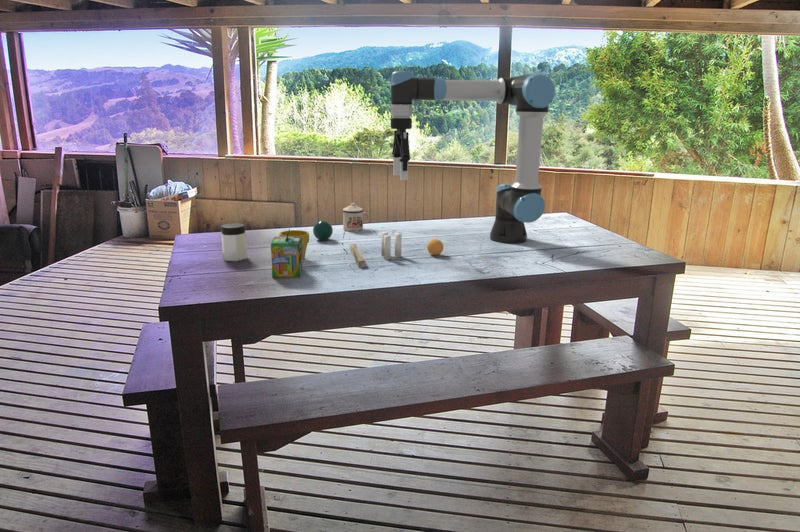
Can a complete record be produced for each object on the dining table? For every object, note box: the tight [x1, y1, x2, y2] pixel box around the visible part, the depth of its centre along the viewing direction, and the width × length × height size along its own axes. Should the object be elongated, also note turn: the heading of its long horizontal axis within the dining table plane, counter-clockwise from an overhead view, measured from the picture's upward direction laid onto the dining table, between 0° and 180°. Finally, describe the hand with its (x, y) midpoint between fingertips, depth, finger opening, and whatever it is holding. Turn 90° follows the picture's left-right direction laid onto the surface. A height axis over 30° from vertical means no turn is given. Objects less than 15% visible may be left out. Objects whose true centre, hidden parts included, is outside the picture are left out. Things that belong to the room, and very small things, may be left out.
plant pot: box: [278, 229, 310, 261], centre depth 201 cm, size 10×10×10 cm
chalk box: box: [270, 228, 303, 279], centre depth 184 cm, size 9×9×15 cm
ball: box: [426, 238, 444, 256], centre depth 210 cm, size 6×6×6 cm
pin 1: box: [381, 231, 389, 257], centre depth 208 cm, size 2×2×8 cm
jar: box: [220, 222, 248, 262], centre depth 201 cm, size 9×8×12 cm
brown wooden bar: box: [349, 243, 366, 269], centre depth 205 cm, size 2×24×2 cm, turn 12°
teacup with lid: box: [342, 202, 370, 232], centre depth 250 cm, size 12×9×12 cm
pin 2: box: [383, 234, 392, 261], centre depth 204 cm, size 2×2×8 cm
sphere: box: [312, 220, 333, 241], centre depth 230 cm, size 8×8×8 cm
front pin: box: [394, 232, 403, 258], centre depth 207 cm, size 2×2×8 cm
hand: (400, 177), depth 207 cm, fingers open, 13 cm apart
